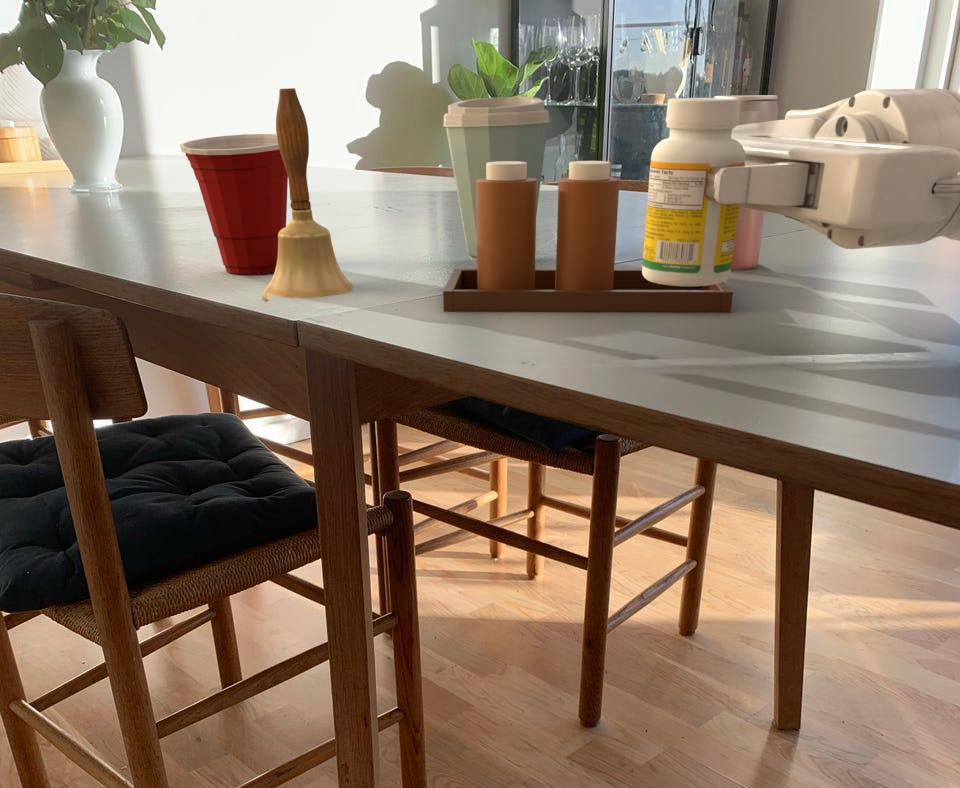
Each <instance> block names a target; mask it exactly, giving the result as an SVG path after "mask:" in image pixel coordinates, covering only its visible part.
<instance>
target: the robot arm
mask: <svg viewBox="0 0 960 788" xmlns="http://www.w3.org/2000/svg"><path fill="white" fill-rule="evenodd" d="M731 138H732V139H735V140H737V141H738V142H740V143H741V145H742V146H743V148H744V150H745V165H744V166H715V167H712V168H711V169H710V170H709V172H708V173H707V184H708V185H707V187H706V191H705V195H706V198H707V199H708V200H709V201H712V202H716V203H721V204H739V203H740V204H739V206H740V207H746V208H751V209H756V210H761V211H765V213H772V214H776V215H780V216H783V217H785V218H788V219H792V220H795V221H798V222H800V223H803V224H805V225H807V226H809V227H810V228H812V229H814V230H815V231H817V232H819V234H822V235H824V236H826V237H827V239H828V240H830V242H832V243H833V244H835V245H836V246H837V247H840V248H843V249H845V250H859V249H860V250H861V249H875V248H886V247H887V248H888V247H901V246H902V247H903V246H914V245H920V244H923V243H924V244H925V243H926V242H929V241H932V240H934V239H937V238H939V237H943V238H946V239H948V240H952V241H958V242H960V93H958V92H956V91H954V90H951V89H947V88H937V87H934V88H893V89H892V88H883V89H882V88H880V89H878V88H877V89H876V88H875V89H874V88H873V89H867V90H863V91H860V92H858V93H856V94H855V95H853V96H850V97H847V98H843V99H841V100H838V101H836V102H834V103H831V104H828V105H821V106H817V107H816V106H815V107H805V108H803V107H802V108H799V109H790V110H788V111H787V112H786V113H785V117H784V119H777V120H776V121H767V122H760V123H752V124H745V125H738V126H736V127H735V128H733V129H732V134H731ZM648 176H650V173H649V174H648Z"/></svg>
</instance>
